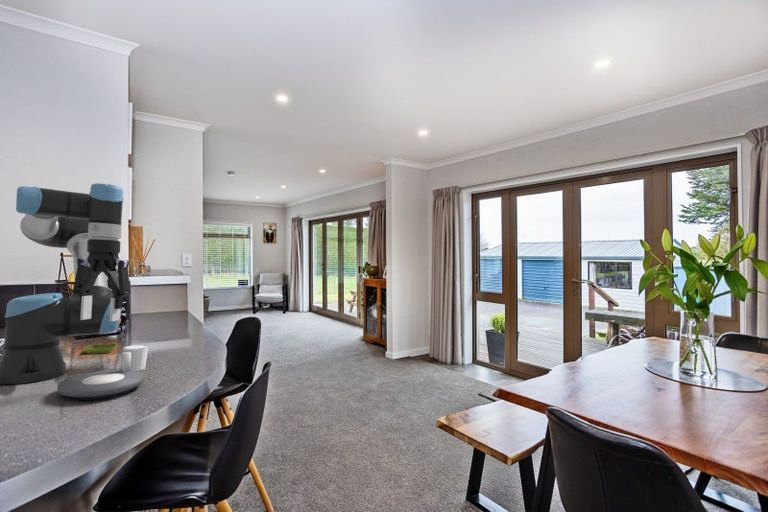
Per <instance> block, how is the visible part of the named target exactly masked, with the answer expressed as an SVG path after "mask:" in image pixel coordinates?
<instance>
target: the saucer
mask: <svg viewBox="0 0 768 512" xmlns="http://www.w3.org/2000/svg"><path fill="white" fill-rule="evenodd" d="M118 346H119V344H118V343H104V344H100V343H99V344H98V343H97V344H89V345H88V346H86V347H85V348H84V349H83V352H84V353H86V354H87V355H90V354H91V355H92V354H93V355H95V354H110V353H111V352H112V351H114V350H115V349H116V348H117V347H118Z"/></svg>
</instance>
